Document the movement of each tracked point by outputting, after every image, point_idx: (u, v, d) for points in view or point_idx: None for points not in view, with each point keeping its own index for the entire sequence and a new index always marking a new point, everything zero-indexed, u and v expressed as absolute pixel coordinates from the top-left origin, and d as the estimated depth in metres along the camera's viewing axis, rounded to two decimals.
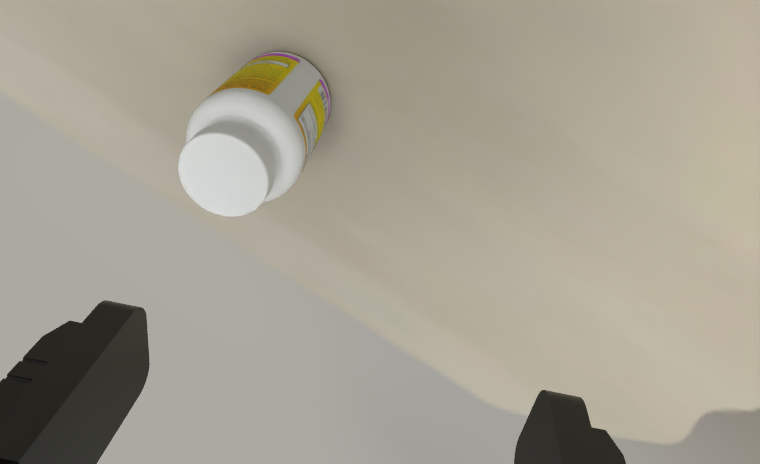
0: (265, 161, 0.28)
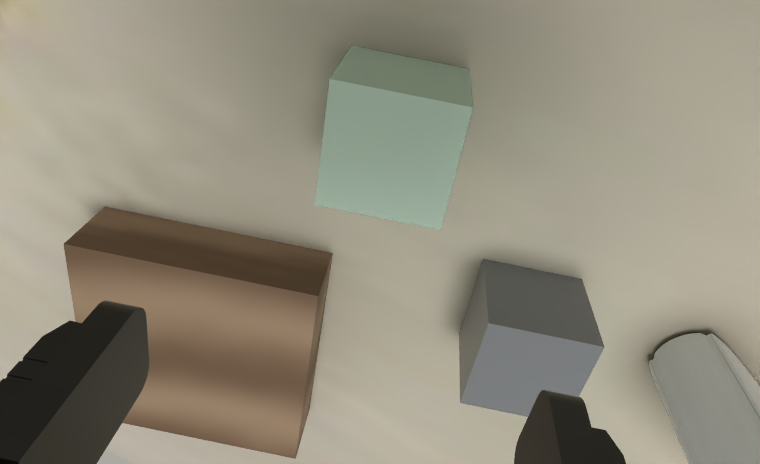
0: None
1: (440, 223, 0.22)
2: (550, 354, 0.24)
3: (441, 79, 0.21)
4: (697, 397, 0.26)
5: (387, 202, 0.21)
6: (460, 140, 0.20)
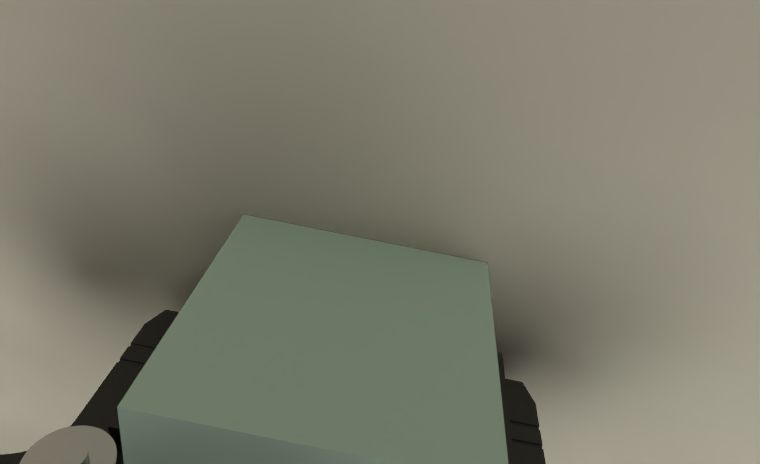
0: None
1: None
2: None
3: (427, 331, 0.09)
4: None
5: None
6: None
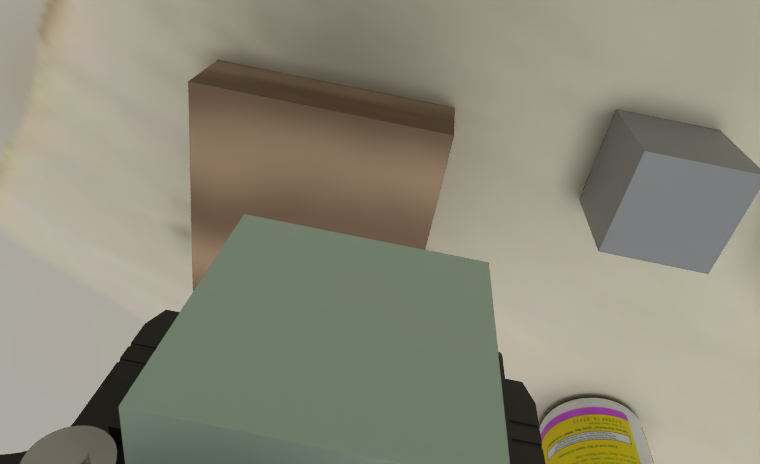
0: None
1: None
2: (707, 187, 0.23)
3: (428, 331, 0.09)
4: None
5: None
6: None
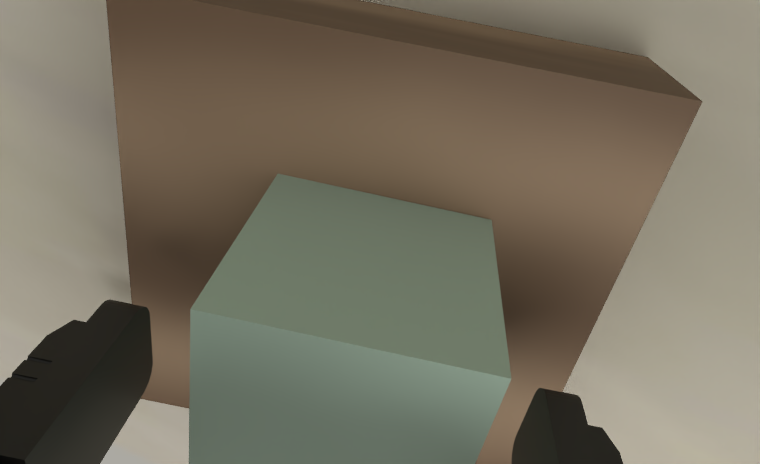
0: None
1: None
2: None
3: (441, 268, 0.11)
4: None
5: None
6: (480, 430, 0.09)
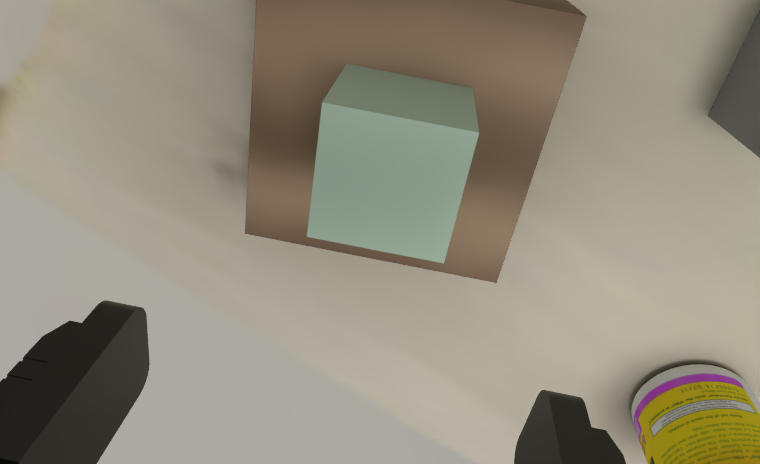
0: None
1: (443, 256, 0.20)
2: None
3: (443, 101, 0.20)
4: None
5: (386, 233, 0.20)
6: (465, 167, 0.18)
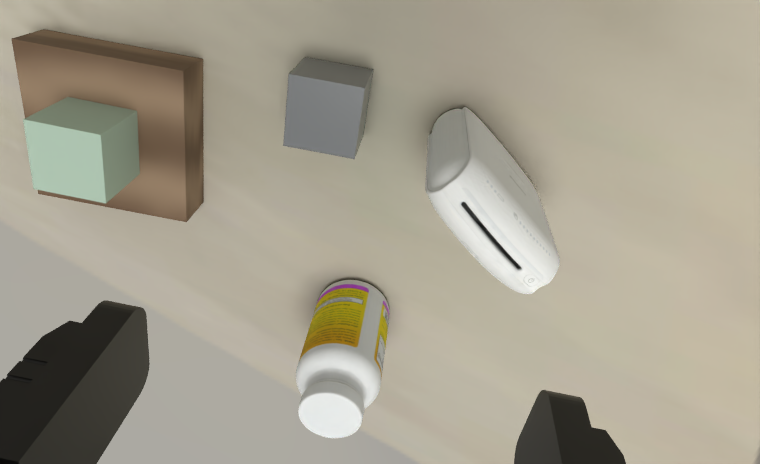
0: (360, 407, 0.40)
1: (104, 199, 0.38)
2: (332, 97, 0.37)
3: (103, 118, 0.38)
4: (440, 134, 0.38)
5: (72, 187, 0.38)
6: (100, 152, 0.36)
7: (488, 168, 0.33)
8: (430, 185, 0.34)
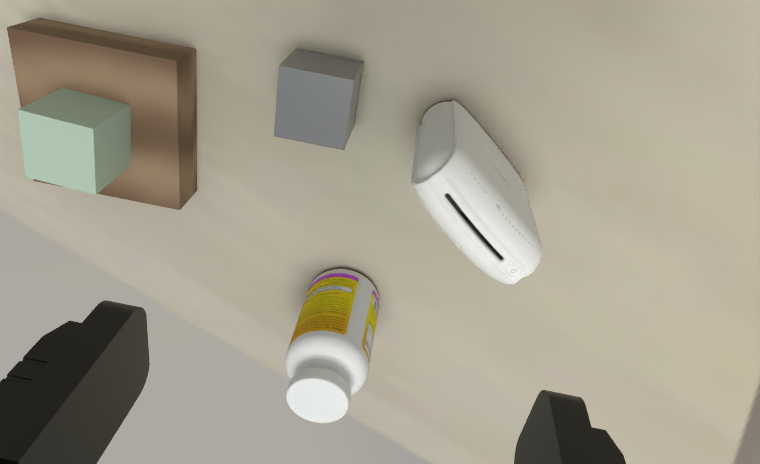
0: (347, 393, 0.41)
1: (94, 190, 0.39)
2: (322, 89, 0.37)
3: (97, 111, 0.39)
4: (427, 126, 0.39)
5: (63, 177, 0.39)
6: (92, 145, 0.37)
7: (472, 160, 0.33)
8: (416, 176, 0.35)
